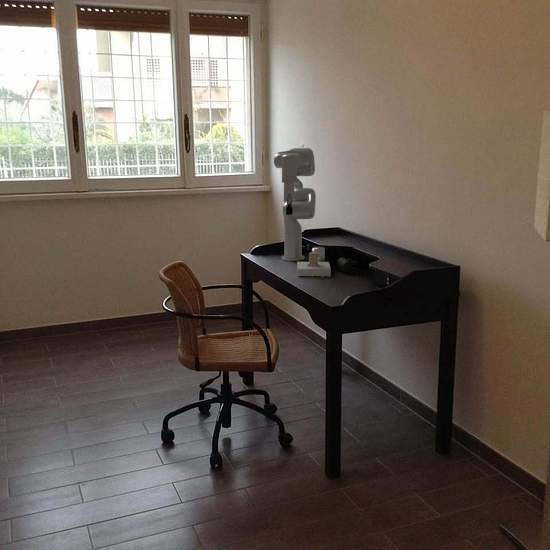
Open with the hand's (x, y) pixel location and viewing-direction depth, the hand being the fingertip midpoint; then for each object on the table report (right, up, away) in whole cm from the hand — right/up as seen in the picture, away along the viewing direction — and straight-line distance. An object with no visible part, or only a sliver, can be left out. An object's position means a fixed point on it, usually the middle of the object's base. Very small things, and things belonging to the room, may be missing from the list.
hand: (289, 213), depth 321 cm
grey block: (+15, -27, +8) cm, 32 cm away
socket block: (+12, -30, -5) cm, 33 cm away
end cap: (+29, -30, -3) cm, 42 cm away
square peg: (+12, -30, -5) cm, 33 cm away
